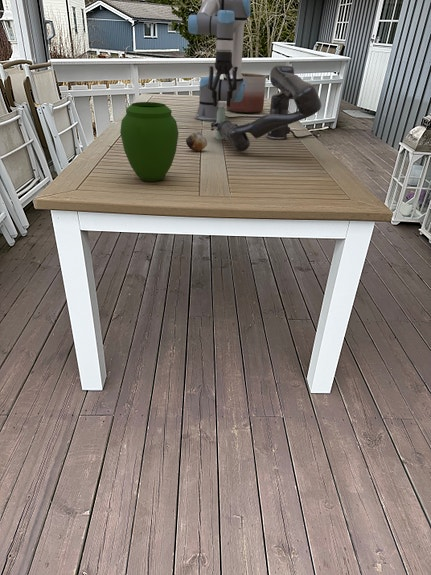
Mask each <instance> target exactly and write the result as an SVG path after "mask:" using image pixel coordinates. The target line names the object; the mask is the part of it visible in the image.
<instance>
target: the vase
mask: <svg viewBox="0 0 431 575" xmlns="http://www.w3.org/2000/svg"><path fill="white" fill-rule="evenodd" d="M125 113H126V114H125V115H124V117H122V119H121V122H120V123H121V124H120V130H119V133H120V138H121V142H122V147H123V150H124V154H125V155H126V158H127V160H128V163H129V165H130V167H131V168H132V170H133V172H134V173H135V175H136V176H137V177H138V178H139V179H141V180H143V181H145V182H159V181H161V180H163V179H164V178H165V176H166V175H167V174H168V173H169V170H170V169H171V167H172V165H173V162H174V159H175V157H176V156H175V155H176V153H177V147H178V140H179V129H178V122H177V120H176V119H175V117H174V116H173V115H172V109H171V108H170V107H169V106H167V105H166V104H164V103H162V102H155V101H138V102H132V103H131V104H130V105H128V107H127V108H125Z"/></svg>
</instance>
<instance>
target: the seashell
mask: <svg viewBox="0 0 431 575" xmlns="http://www.w3.org/2000/svg"><path fill="white" fill-rule="evenodd" d="M185 143H186V146H187V147H188V148H189V149H190V150H192V151H194V152H197V151H198V152H199V151H201V150H204V149H205V148H206V147H207V146H208V141H207V138H206V137H205V136H204V135H203V134H202V132H201V131H197V132H195V133H192V134H190V135H189V136H188V137H187V138H186V139H185Z"/></svg>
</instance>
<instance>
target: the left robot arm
mask: <svg viewBox="0 0 431 575" xmlns="http://www.w3.org/2000/svg"><path fill="white" fill-rule="evenodd" d="M250 17H251V0H202V1H201V6H200V8H199V10H198V11H197V14H190V15H189V16H188V19H187V30H188V33H189V34H192V35H201V36H202V35H203V36H204V35H206V36H216V41H215V50H216V51H215V62H214V64H213V65H209V66H208V71H209V72H208V76H203V77H202V78H200V80H199V86H198V87H199V100H198V101H199V103H198V104H199V105H198V107H197V111H196V114H195V119H196V120H199V121H202V122H203V121H204V122H214V121H216V122H217V111H218V109H219V107H218V106H217V103H218V102H227V106H228V107H230V102H241V101H242V98H243V94H244V89H245V83H246V81H243V76H242V74H241V73H242V66H243V64H242V63H243V49H244V33H245V24H246V23H247V21H248V18H250ZM215 70H216V73H215V75H214V72H215ZM222 75H223V77H222V78H221V76H222ZM263 116H264V115H261V116H260V115H259V116H258V115H257V116H256V115H254V116H253V115H251V116H250V115H237V116H236V115H235V116H228V115H225V118H226V119H238V118H240V119H241V118H246V119H247V118H252V119H253V118H254V119H256V118H257V119H259V118H261V117H263Z"/></svg>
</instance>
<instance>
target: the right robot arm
mask: <svg viewBox="0 0 431 575" xmlns="http://www.w3.org/2000/svg"><path fill="white" fill-rule="evenodd" d="M269 80H270V84H271V85H272V86H273V88H277V89H278V90H279V92H277V93H274V94H272V95H271V97H270V98H271V99H270V106H269V107H270V108H269V113H268V114H265V115H262V116H263V117H261V118H257V119H256V120H254V121H252V122H248V123H245V124H241V125H238V124H237V123H234V122H232V121H230V120H225V121H223V122H222V123H217V121H212V122H211V123H210V131H216V130H218V131H219V133H220V135H221V136H222V137H224V140H226V141H228V142H229V143H230V144H231V145H232V147H233V148H234V150H236V151H237V152H245V151H247V150H248V149H249V147H250V146H251V141H250V139H249V136H248V133H249V134H251V135H252V137H254V139H260V138H262V137H264V136H265V135H266V137H267V139H271V140H287V137H288V135H289V134H290V133H291V134H292V136H293V137H294V138H295V139H304V138H309V137H315V138H316V139H319V136H318V135H317V134H315V133H314V134H307V135H301V136H300V135H298V136H297V135H296V134H295V133H294V131H293V130H291V127H290V126H289V125H291V124H293V123H296V122H299V121H301V120H304V119H307V118H310V117H311V116H314V115H315V114H317V113H318V112H319V111H320V110H321V108H322V106H323V105H322V101H321V99H320V96H319V93H318V91H317V88H316V87H315V86H314V85H313V84H312V83H309V82H307V81H305V80H304V79H302V78H301V77H300V76H299V75H298V74H295V69H294V66H292V65H282V64H281V65H280V64H278V65H274V66H272V68H271V70H270V73H269ZM291 100H293V101H294V103H295V107H296V108H297V111H294V112H291V113H289V110H290V101H291ZM312 135H313V136H312Z"/></svg>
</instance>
